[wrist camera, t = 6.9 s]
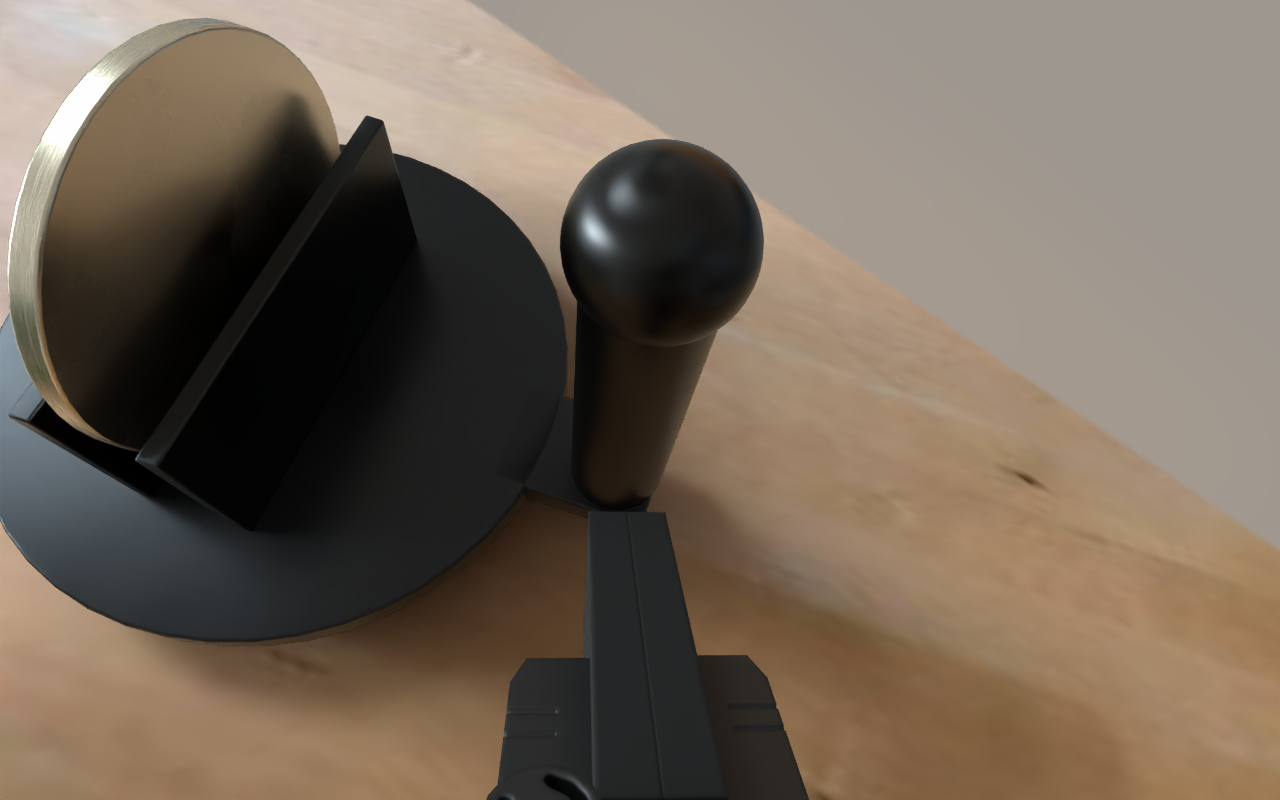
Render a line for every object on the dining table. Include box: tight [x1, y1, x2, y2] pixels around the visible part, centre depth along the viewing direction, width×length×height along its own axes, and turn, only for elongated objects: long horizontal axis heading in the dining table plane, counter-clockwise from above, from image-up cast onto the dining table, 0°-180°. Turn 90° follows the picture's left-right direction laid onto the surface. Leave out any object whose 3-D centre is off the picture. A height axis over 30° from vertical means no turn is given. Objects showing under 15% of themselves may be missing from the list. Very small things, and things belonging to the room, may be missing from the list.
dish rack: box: [0, 18, 764, 647], centre depth 16 cm, size 20×16×13 cm
